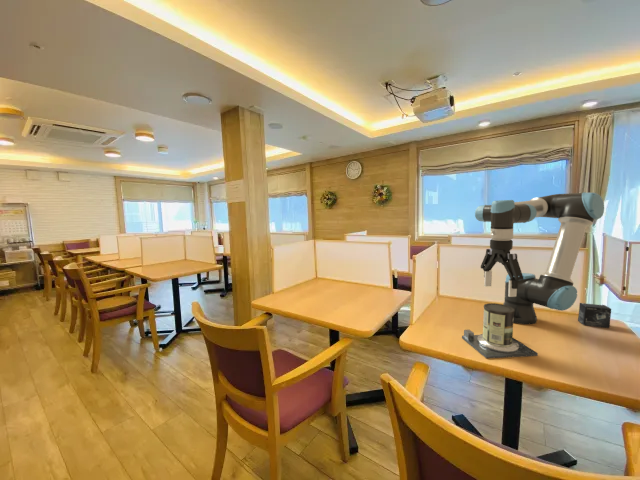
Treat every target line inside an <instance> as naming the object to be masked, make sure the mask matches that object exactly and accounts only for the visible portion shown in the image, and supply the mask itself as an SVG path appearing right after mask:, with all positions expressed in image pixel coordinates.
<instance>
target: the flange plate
mask: <svg viewBox="0 0 640 480" xmlns="http://www.w3.org/2000/svg"><path fill="white" fill-rule="evenodd" d="M482 337H483V333H482V334H480V333H479V334H475V333H474V332H473V331H472V330H470V329H464V330H463V335H461V339H462V340H464V341H465V342H466V343H467V344H468V345H469V346H470V347H472V348H473V349H474V350H476V351H477V352H478V353H479V354H480V355H482V357H484V358H485V359H499V358H502V359H505V358H523V357H525V358H526V357H538V354H539V353H538V352H537V351H535V350H534V349H532V348H530V347H529V346H527V345H526V344H524V343H522V342H521V341H519V340H517V338H514V337H513V336H512V346H510V347H498V346H494V345H491V344H489V343H487V342H485V341H484V340H483V338H482Z"/></svg>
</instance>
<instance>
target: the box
mask: <svg viewBox="0 0 640 480" xmlns="http://www.w3.org/2000/svg"><path fill="white" fill-rule="evenodd" d="M578 306H579V308H578V318H577V322H579V323H580V324H581V325H582V326H587V327H594V328H595V327H596V328H605V329H610V325H611V316H612V308H610V306H608V305H605V304H593V303H584V302H579V305H578Z"/></svg>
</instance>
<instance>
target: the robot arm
mask: <svg viewBox="0 0 640 480" xmlns="http://www.w3.org/2000/svg"><path fill="white" fill-rule="evenodd" d="M474 211H475V212H474V218H475V219H476V220H477V221H478V222H483V223H490V237H489V238H490V240H489V248H486V250H485V255H484V257H483V260H482V262H481V265H480V269H482V270H483V273H484V275H483V277H484V279H483V280H484V283H483V284H484V285H483V287H487V288H488V287H492V281H493V280H492V279H493V275H492V274H493V271H492V270H493V267H494V266H495V265H496V264H497V263H499V264H501V265H502V266H504V269H505V270H506V272H507V275H506V276H505V281H504V283H505V285H504V287H505V289H504V302H503V304H502V305H506V306H509V307H511V308H513V309H514V310H515V311H514V320H513V324H520V325H536V324H537V321H538V317H537V313H536V311H535V307H534V304H535V305H539V306H541V307H546V308H548V309H550V310H551V309H552V310H557V311H562V312H563V311H567V310H568V309H570V308H571V307H572V306H573V305H574V303H575V302H576V300H577V298H578V289H577V288H576V287H575V286H574V282H573V280H572V279H571V278H572V277H571V276H572V274H573V271H574V267H575V264H576V262H577V258H578V255H579V251H580V248H581V246H582V243H583V239H584V237H585V234H586V233H585V232H586V230H587V228H588V227H590V226H592V225H593V224H594V220H599V219H601V218H602V217H603V215H604V214H605V203H604V200H603V198H602V196H601V195H600V194H599V193H597V192H586V191H584V192H574V193H573V192H571V193H570V192H569V193H557V194H555V193H554V194H550V195H545V196H539V197H533V198H531V199H530V200H525V201H523V200H522V201H515V200H514V199H504V200H503V199H501V200H493V201H492V202H491V204H484V205H479V206H477V207H476V208H475V210H474ZM535 218H549V219H551V218H552V219H557V221H558V222H559V223H560V226H559V230H558V233H557V234H556V239H555V242H554V245H553V248H552V251H551V254H550V257H549V260H548V264H547V267H546V269H545V272H543V273H541V274H540V275H539V277H538V278H536V275H535V274H534V273H529V272H527V273H526V272H522V270H521V267H520V264H519V263H520V262H519V260H518V254H517V253H511V251H512V249H513V243H514V242H513V241H514V240H512V239H513V238H514V224H521V223H523V224H526V223H529V222H532V221H533V220H534V219H535Z"/></svg>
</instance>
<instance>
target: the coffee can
mask: <svg viewBox="0 0 640 480" xmlns="http://www.w3.org/2000/svg"><path fill="white" fill-rule="evenodd" d="M514 311H515V310H514V309H513V308H511V307H509V306H506V305H503V304H501V303H492V302H491V303H485V304H484V305H483V321H482V334H483V337H482V338H483V340H484V341H485V342H487V343H489V344H491V345H494V346H498V347H510V346H512V337H513V335H514V323H513V320H514Z"/></svg>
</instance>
